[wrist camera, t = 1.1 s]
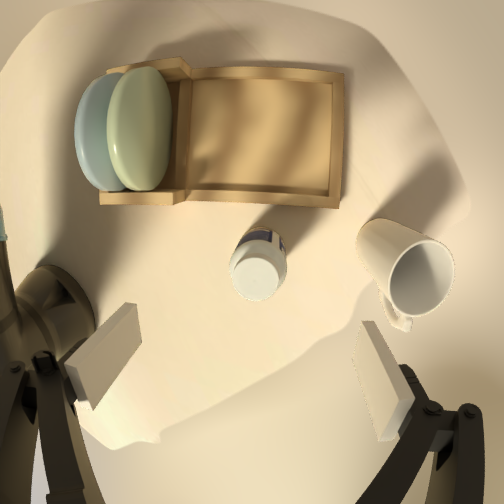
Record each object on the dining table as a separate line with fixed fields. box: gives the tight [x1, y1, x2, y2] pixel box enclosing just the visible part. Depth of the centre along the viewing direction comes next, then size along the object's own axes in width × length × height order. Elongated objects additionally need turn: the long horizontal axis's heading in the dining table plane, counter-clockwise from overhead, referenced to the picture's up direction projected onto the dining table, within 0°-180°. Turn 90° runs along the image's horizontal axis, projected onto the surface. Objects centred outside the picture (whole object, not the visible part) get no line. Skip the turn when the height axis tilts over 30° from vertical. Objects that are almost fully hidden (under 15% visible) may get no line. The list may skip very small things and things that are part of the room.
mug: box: [356, 218, 455, 332], centre depth 27 cm, size 10×7×12 cm, turn 0°
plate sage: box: [107, 66, 173, 190], centre depth 24 cm, size 1×12×12 cm, turn 178°
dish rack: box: [99, 57, 344, 209], centre depth 28 cm, size 25×15×6 cm, turn 87°
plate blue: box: [74, 72, 127, 191], centre depth 24 cm, size 1×12×12 cm, turn 177°
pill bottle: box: [229, 227, 287, 301], centre depth 29 cm, size 5×5×10 cm
